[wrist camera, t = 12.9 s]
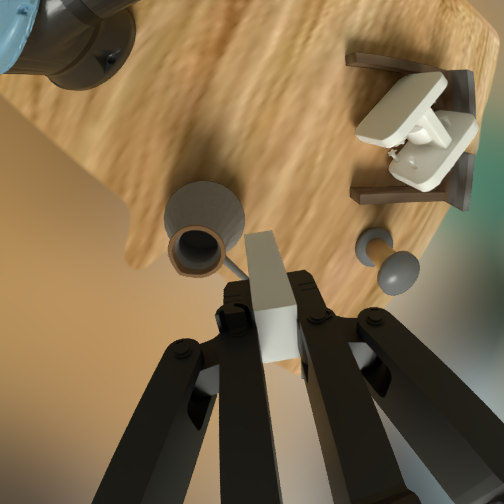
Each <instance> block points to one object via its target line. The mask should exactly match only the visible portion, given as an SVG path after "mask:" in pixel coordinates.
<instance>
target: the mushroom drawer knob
mask: <svg viewBox="0 0 504 504" xmlns="http://www.w3.org/2000/svg"><path fill="white" fill-rule="evenodd" d="M355 253H356V256H357V258H358V259H359V261H360V262H361V263H362V264H364V265H365V266H369V267H374V266H376V267H377V268H378V270H379V271H378V275H377V281H378V285H379V286H380V288H381V289H382V291H383V292H384V293H386V294H387V295H391V296H395V295H399V294H402V293H404V292H405V291H407V290H408V289H409V288H411V286H412V285H413V284H414V283H415V281H416V279H417V278H418V275H419V271H420V265H419V261H418V260H417V258H416V257H415V256H414V255H413V254H412V253H410V252H408V251H398V252H396V251H394V250H393V240H392V237H391V235H390V234H389V233H388V232H387V231H386V230H384V229H383V228H380V227H373V228H370V229H368V230H366V231H365V232H363V233H362V234H361V236H360V237H359V238H358V240H357V243H356V246H355Z"/></svg>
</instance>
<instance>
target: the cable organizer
mask: <svg viewBox="0 0 504 504" xmlns="http://www.w3.org/2000/svg"><path fill="white" fill-rule="evenodd" d="M447 84H448V81H447V80H446V78H445V77H444V75H443V74H442V73H441V72H428V73H418V74H410V75H406V76H404V77H402V78H401V79H400V80H398V81H397V82H396V83H395V84H394V86H393V87H392V88H391V89H390V90H389V91H388V92H387V93H386V94H385V96H384V97H383V98H382V99H381V100H380V101H379V102H378V103H377V104H376V106H375V107H374V108H373V109H372V110H371V111H370V112H369V113H368V115H367V116H366V117H365V118H364V119H363V120H362V121H361V122H360V124H359V125H358V126H357V128H356V129H355V132H354V134H355V135H356V136H357V137H358V139H359V140H360V141H363V142H366V143H370V144H374V145H378V146H381V147H385V148H391V147H394V146H395V145H396V147H397V146H398V145H400V144H404V141H405V139H406V138H407V139H408V140H409V141H408V142H407V143H406V144H405V146H404V147H403V148H402V149H401V150H400V152H399V153H398V154H397V155H396V154H395V152H396V151H397V150H395V151H394V150H393V149H392V150H391V151H390V152H388V154H389V156H392V157H393V158H394V159H393V160H392V161H391V163H390V165H389V172H390V173H391V174H392V175H393V176H394V177H395V178H396V179H398V180H400V181H402V182H404V183H406V184H408V185H410V186H412V187H414V188H416V189H418V190H420V191H422V192H427V191H430V190H432V189H433V188H435V187H436V186H438V185H439V184H440V183H441V180H442V179H443V178H444V177H445V175H446V174H447V173H448V172H449V171H450V169H451V168H452V167H453V166H454V164H455V162H456V161H457V160H458V158H459V157H460V156H461V154H462V153H463V152H464V150H465V149H466V148H467V146H468V145H469V143H470V142H471V141H472V139H473V138H474V137H475V135H476V133H477V132H478V129H479V125H478V123H477V121H476V119H475V117H474V116H473V115H472V114H469V113H461V112H453V111H444V110H438V111H435V112H433V110H432V109H431V108H430V107H431V106H432V104H433V103H436V99H437V98H438V97H439V96H440V94H441V93H442V92H443V91H444V89H445V88H446V86H447ZM389 156H388V157H389Z"/></svg>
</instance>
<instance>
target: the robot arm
mask: <svg viewBox="0 0 504 504" xmlns="http://www.w3.org/2000/svg"><path fill="white" fill-rule="evenodd" d="M138 1H140V0H0V74H30V75H45V76H47V77H48V78H49V80H50V81H51V82H52V83H54V84H55V85H56V86H58V87H60V88H63V89H66V90H75V91H82V90H88V89H92V88H94V87H97V86H99V85H101V84H102V83H104V82H106V81H107V80H108V79H110V78H111V77H112V76H113V75H114V74H115V73H117V71H118V70H119V69H120V68H121V67H122V66H123V64H124V63H125V61H126V60H127V58H128V56H129V55H130V52H131V50H132V48H133V45H134V41H135V34H136V29H135V23H134V20H133V17H132V15H131V14H130V13H129V11H128V10H127V9H125V8H127V7H128V6H130V5H132V4H134V3H136V2H138ZM244 237H245V246H246V255H247V263H248V272H249V279H248V280H241V281H234V282H228V284H227V285H226V287H225V288H224V299H223V303H224V304H223V305H222V306H221V307H220V308H219V309H218V310H217V311H216V314H215V318H216V321H217V325H218V329H219V332H220V333H219V334H218V335H217V336H216V337H215V338H213V339H211V340H209V341H207V342H204V343H201V344H199V343H198V342H197V341H196V340H194V339H189V338H186V339H179V340H176V341H174V342H173V343H171V344H170V345H169V346H168V347H167V349H166V350H165V352H164V354H163V356H162V358H161V360H160V362H159V364H158V366H157V368H156V370H155V372H154V373H153V375H152V378H151V379H150V382H149V383H148V385H147V388H146V389H145V391H144V393H143V395H142V397H141V399H140V401H139V403H138V405H137V407H136V409H135V411H134V413H133V416H132V418H131V420H130V422H129V424H128V426H127V428H126V430H125V432H124V434H123V436H122V438H121V440H120V443H119V445H118V447H117V449H116V451H115V453H114V455H113V457H112V459H111V462H110V464H109V466H108V468H107V470H106V472H105V475H104V477H103V479H102V481H101V483H100V486H99V488H98V490H97V492H96V494H95V497H94V499H93V501H92V503H91V504H183V502H184V499H185V496H186V493H187V490H188V487H189V484H190V480H191V477H192V474H193V471H194V468H195V465H196V461H197V458H198V455H199V452H200V449H201V445H202V442H203V439H204V436H205V433H206V430H207V426H208V423H209V420H210V416H211V413H212V410H213V407H214V404H215V400H216V397H217V393H219V450H220V452H219V453H220V494H221V504H283V501H282V494H281V487H280V480H279V473H278V466H277V459H276V452H275V446H274V438H273V431H272V424H271V417H270V410H269V402H268V395H267V388H266V381H265V374H264V368H263V363H269V362H275V361H281V360H287V359H293V358H299V353H300V357H301V373H302V379H304V380H305V384H306V388H307V392H308V395H309V400H310V404H311V408H312V412H313V416H314V420H315V424H316V429H317V432H318V437H319V441H320V445H321V450H322V454H323V458H324V462H325V467H326V471H327V475H328V480H329V484H330V488H331V493H332V497H333V501H334V504H421V502H420V500H419V498H418V496H417V495H416V494H415V493H414V492H412V491H410V490H409V489H407V487H406V485H405V483H404V480H403V478H402V475H401V472H400V469H399V466H398V463H397V461H396V458H395V455H394V453H393V450H392V447H391V445H390V442H389V440H388V437H387V434H386V432H385V429H384V427H383V424H382V421H381V419H380V416H379V414H378V412H377V409H376V407H375V405H374V402H373V399H374V400H375V401H376V402H377V404H378V405H379V406H380V408H381V409H382V410H383V411H384V413H385V414H386V415H387V416H388V418H389V419H390V420H391V422H392V423H393V424H394V426H395V427H396V428H397V429H398V431H399V432H400V433H401V434H402V436H403V437H404V439H405V440H406V441H407V442H408V444H409V445H410V446H411V448H412V449H413V450H414V451H415V453H416V454H417V455H418V456H419V458H420V459H421V460H422V462H423V463H424V464H425V466H426V467H427V468H428V470H429V471H430V472H431V474H432V475H433V476H434V477H435V479H436V480H437V481H438V483H439V484H440V485H441V487H442V488H443V489H444V490H445V492H446V493H447V494H448V496H449V497H450V498H451V500H452V501H453V502H454V503H455V504H504V423H503V422H502V421H501V420H500V419H499V418H498V417H497V416H496V415H495V414H494V413H493V412H492V410H491V409H490V408H489V407H488V406H487V405H486V404H485V403H484V402H483V401H482V400H481V399H480V398H479V397H478V396H477V395H476V394H475V393H474V392H473V391H472V390H471V389H470V388H469V387H468V386H467V385H466V384H465V383H464V382H463V381H462V380H461V379H460V378H459V377H458V376H457V375H456V374H455V373H453V371H452V370H451V369H450V368H448V367H447V365H445V364H444V363H443V362H442V361H441V360H440V359H439V358H438V357H437V356H436V355H435V354H434V353H433V352H432V351H431V350H430V349H429V348H428V347H426V346H425V345H424V344H423V343H422V342H421V341H420V340H419V339H418V338H417V337H416V336H415V335H414V334H412V333H411V332H410V331H409V330H408V329H407V328H406V327H405V326H404V325H403V324H402V323H400V322H399V321H398V320H397V319H396V318H395V317H394V316H393V315H392V314H390V313H389V312H388V311H386V310H385V309H382V308H378V307H370V308H366V309H364V310H363V311H361V312H360V313H359V315H358V318H344V317H339V316H336V315H335V313H334V312H333V311H332V310H331V309H329V308H327V307H326V305H325V302H324V300H323V298H322V296H321V294H320V291H319V289H318V288H317V285H316V283H315V281H314V279H313V276H312V275H311V274H310V273H308V272H307V271H306V270H301V271H294V272H288V273H286V270H285V267H284V264H283V261H282V258H281V256H280V253H279V250H278V247H277V244H276V241H275V238H274V235H273V232H272V230H271V231H265V232H258V233H251V234H245V235H244ZM371 396H372V397H373V399H372V397H371Z"/></svg>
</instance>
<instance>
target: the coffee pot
mask: <svg viewBox="0 0 504 504" xmlns="http://www.w3.org/2000/svg"><path fill="white" fill-rule="evenodd" d="M164 224H165V229H166V232H167V235H168V237H169V238H170V241H169V245H168V255H169V258H170V261H171V263H172V265H173V266H174V268H175V269H176V271H177V272H178V274H179V275H182V276H186V277H194V278H202V277H207V276H209V275H212V274H213V273H215V272H216V271H217V270H219V269H220V268H221V266H222V264H224V265H226V266H227V267H228V268H229V269H230V270H231V271H232V272H234V273H235V274H236V275H237V276H238V277H239V278H240V279H242V280H248V279H249V277H248V276H247V275H246V274H245V273H244V272H243V271H241V270H240V269H239V268H238V267H237V266H236V265H235V264H234V263H233V262H232V261H231V260H230V259H229V258H228V257H227V256H226V252H228V251H229V250H230V249H231V248H233V247H234V246H235V245H236V244H237V242H238V241H239V239H240V237H241V236H242V233H243V230H244V226H245V214H244V211H243V207H242V205H241V203H240V201H239V199H238V198H237V196H236V195H235V194H234V193H233V192H232V191H231V190H230V189H228V188H226V187H224V186H223V185H221V184H219V183H215V182H211V181H196V182H193V183H189V184H186V185H185V186H183V187H181V188H180V189H178V190H177V191H176V192H175V193H174V194H173V195H172V196H171V198H170V200H169V201H168V203H167V205H166V209H165V214H164Z"/></svg>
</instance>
